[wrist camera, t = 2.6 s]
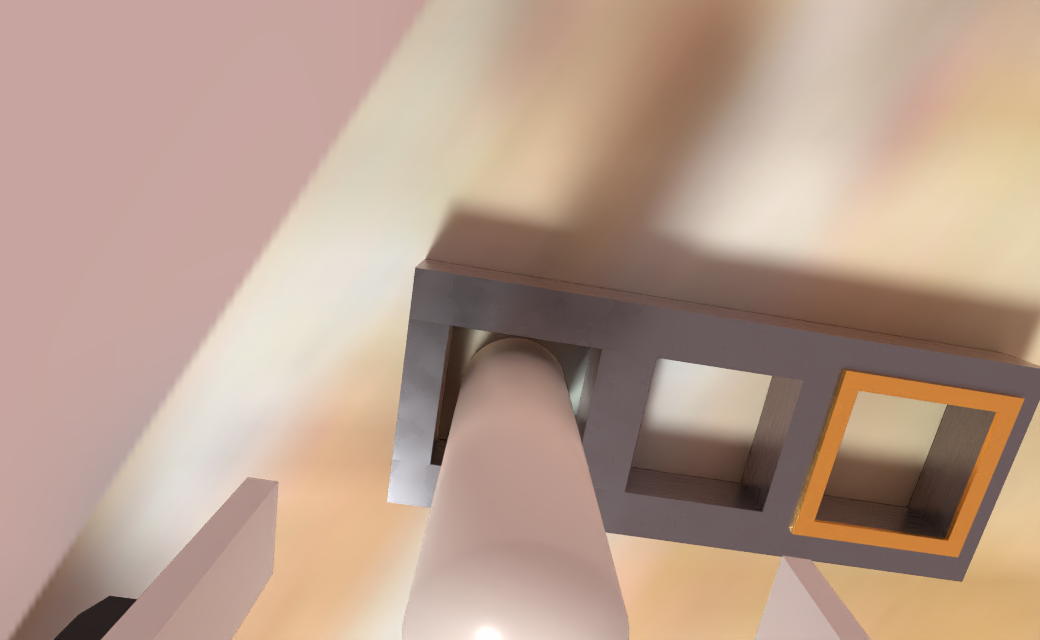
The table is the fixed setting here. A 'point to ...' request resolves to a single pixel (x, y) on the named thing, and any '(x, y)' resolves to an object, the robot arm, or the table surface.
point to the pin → (514, 515)
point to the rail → (781, 430)
